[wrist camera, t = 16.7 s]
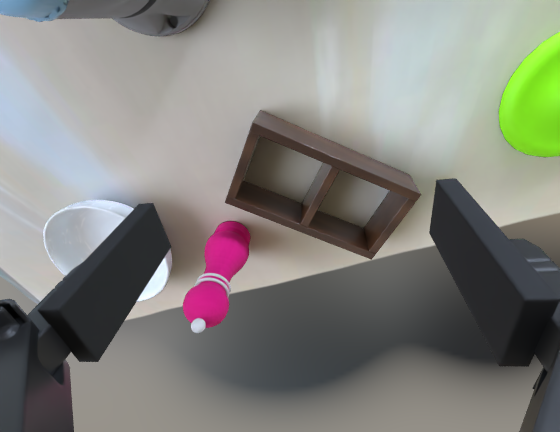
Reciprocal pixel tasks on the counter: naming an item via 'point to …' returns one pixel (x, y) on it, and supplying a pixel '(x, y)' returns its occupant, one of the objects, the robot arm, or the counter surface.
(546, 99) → the wineglass
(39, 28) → the counter surface
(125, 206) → the serving bowl
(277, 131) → the caddy
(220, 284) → the pepper mill
